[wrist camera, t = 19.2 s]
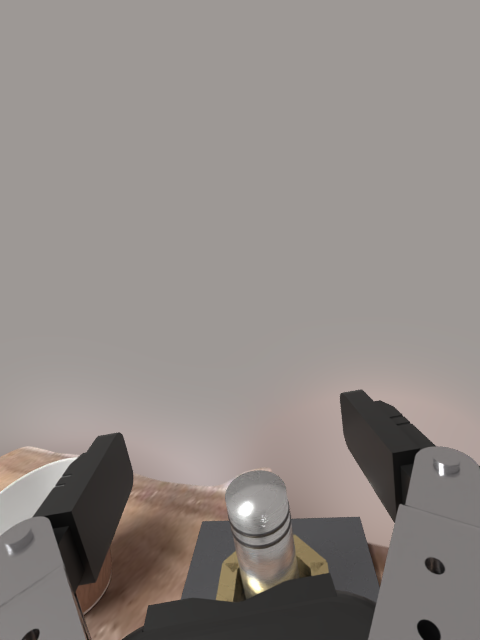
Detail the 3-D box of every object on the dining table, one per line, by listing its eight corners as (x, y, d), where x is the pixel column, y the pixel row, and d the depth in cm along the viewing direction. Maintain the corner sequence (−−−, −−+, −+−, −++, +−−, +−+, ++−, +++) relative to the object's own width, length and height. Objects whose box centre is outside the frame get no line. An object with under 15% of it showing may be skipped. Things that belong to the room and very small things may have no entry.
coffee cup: (139, 536, 38) (114, 449, 35) (107, 640, 28) (69, 529, 25) (55, 550, 38) (24, 464, 36) (-7, 658, 28) (-57, 550, 26)
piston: (245, 641, 26) (219, 519, 23) (251, 578, 30) (229, 471, 28) (307, 643, 25) (287, 517, 22) (302, 578, 30) (286, 468, 27)
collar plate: (139, 767, 21) (126, 733, 20) (203, 526, 38) (198, 504, 37) (437, 797, 18) (435, 759, 17) (360, 522, 35) (357, 497, 34)
